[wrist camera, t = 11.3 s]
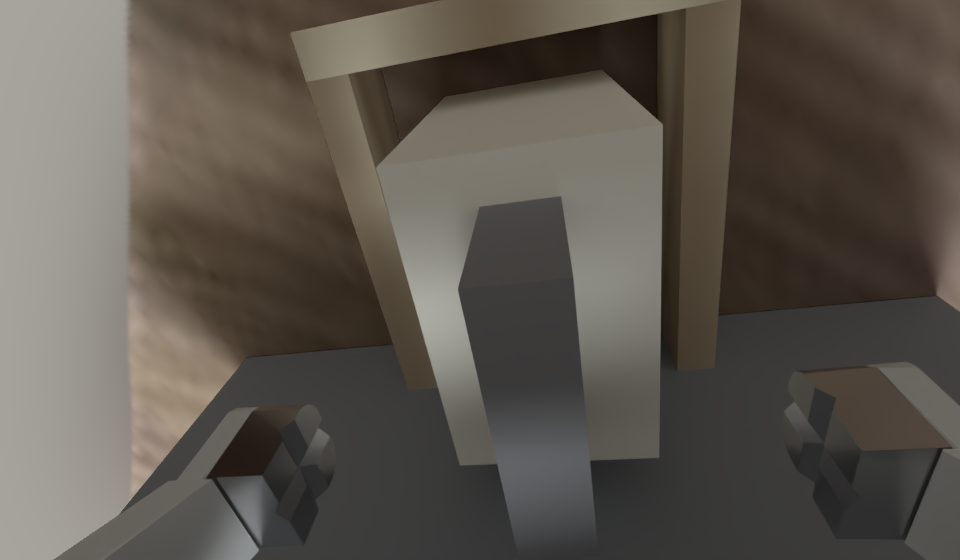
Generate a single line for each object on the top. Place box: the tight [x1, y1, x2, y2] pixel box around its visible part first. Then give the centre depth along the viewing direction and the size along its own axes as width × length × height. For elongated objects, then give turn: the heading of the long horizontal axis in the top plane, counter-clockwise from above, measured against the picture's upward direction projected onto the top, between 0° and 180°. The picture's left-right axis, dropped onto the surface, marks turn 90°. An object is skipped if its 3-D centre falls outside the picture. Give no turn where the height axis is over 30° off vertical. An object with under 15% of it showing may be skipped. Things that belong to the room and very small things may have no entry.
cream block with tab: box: [376, 70, 663, 557], centre depth 12 cm, size 5×8×11 cm, turn 10°
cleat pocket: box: [290, 0, 741, 390], centre depth 15 cm, size 11×12×3 cm
